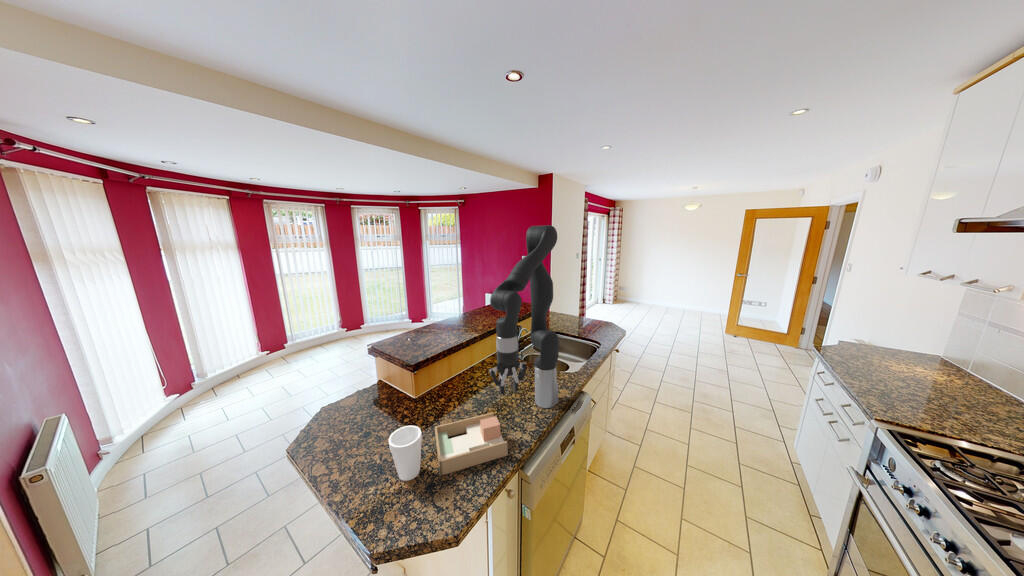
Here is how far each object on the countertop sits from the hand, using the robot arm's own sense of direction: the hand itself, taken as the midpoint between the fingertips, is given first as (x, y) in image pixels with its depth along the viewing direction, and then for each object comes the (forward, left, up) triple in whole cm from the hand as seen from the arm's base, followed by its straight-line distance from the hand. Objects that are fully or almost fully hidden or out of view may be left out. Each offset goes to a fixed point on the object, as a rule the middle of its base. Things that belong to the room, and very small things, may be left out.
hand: (509, 392), depth 99 cm
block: (+8, 0, -15) cm, 17 cm away
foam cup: (+35, +4, -17) cm, 39 cm away
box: (+15, 0, -17) cm, 23 cm away
